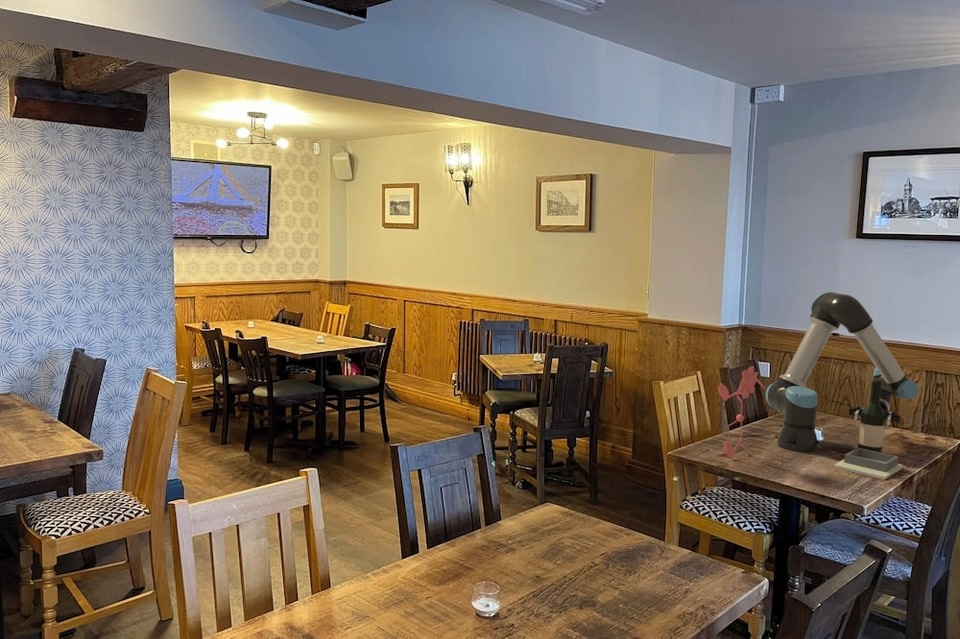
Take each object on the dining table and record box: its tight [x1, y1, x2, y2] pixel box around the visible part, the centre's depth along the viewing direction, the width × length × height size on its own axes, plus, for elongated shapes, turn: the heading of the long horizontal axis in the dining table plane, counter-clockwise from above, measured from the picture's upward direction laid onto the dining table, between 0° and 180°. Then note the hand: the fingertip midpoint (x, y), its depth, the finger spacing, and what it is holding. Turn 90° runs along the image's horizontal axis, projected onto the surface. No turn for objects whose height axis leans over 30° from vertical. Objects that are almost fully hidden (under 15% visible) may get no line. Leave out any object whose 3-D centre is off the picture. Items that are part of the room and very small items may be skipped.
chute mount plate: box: [833, 447, 904, 481], centre depth 261 cm, size 21×17×4 cm
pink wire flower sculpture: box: [709, 365, 767, 460], centre depth 265 cm, size 15×26×35 cm, turn 130°
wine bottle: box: [857, 378, 886, 453], centre depth 276 cm, size 8×8×30 cm
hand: (871, 419), depth 273 cm, fingers open, 10 cm apart
